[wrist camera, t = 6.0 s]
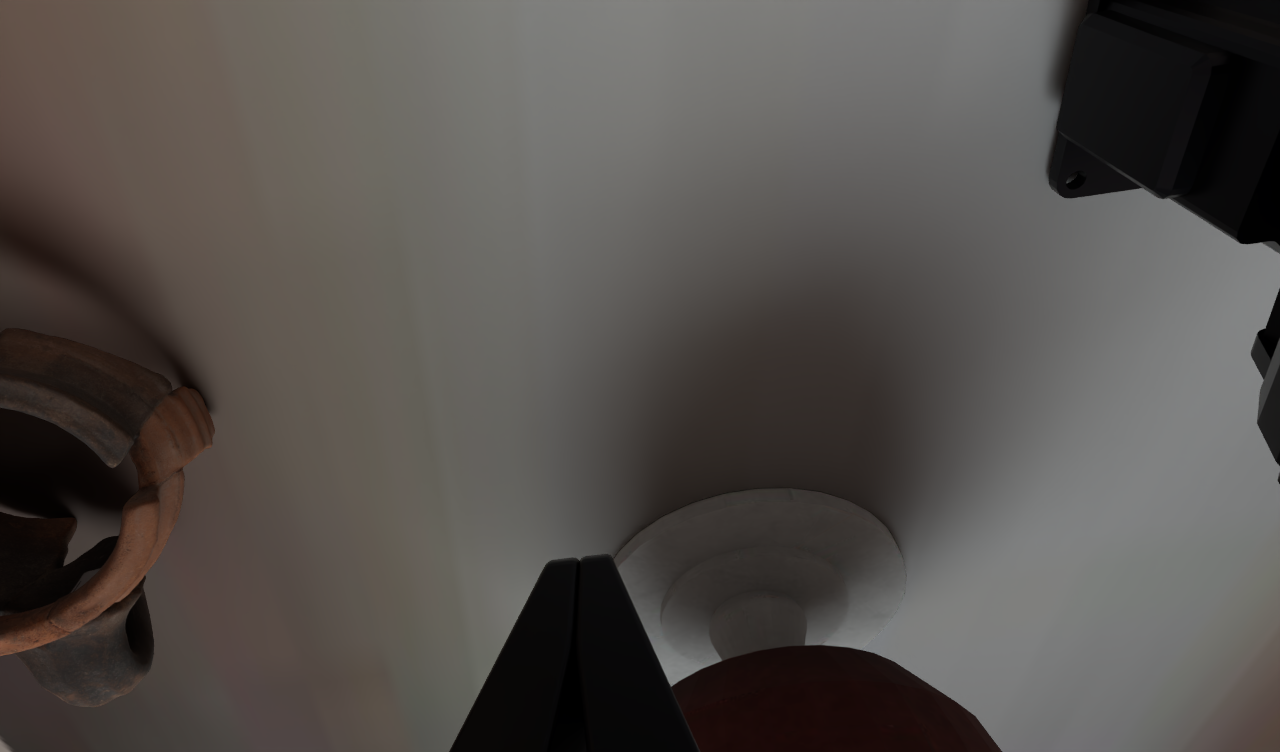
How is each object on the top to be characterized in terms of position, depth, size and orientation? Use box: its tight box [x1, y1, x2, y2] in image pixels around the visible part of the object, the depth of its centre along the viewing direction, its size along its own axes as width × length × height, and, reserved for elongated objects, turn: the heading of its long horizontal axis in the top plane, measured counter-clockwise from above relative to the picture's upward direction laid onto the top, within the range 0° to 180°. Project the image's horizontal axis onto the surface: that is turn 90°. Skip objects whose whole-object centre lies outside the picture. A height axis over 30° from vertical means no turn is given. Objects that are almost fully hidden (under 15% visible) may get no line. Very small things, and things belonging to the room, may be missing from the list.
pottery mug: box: [0, 328, 215, 707], centre depth 21 cm, size 12×10×8 cm
